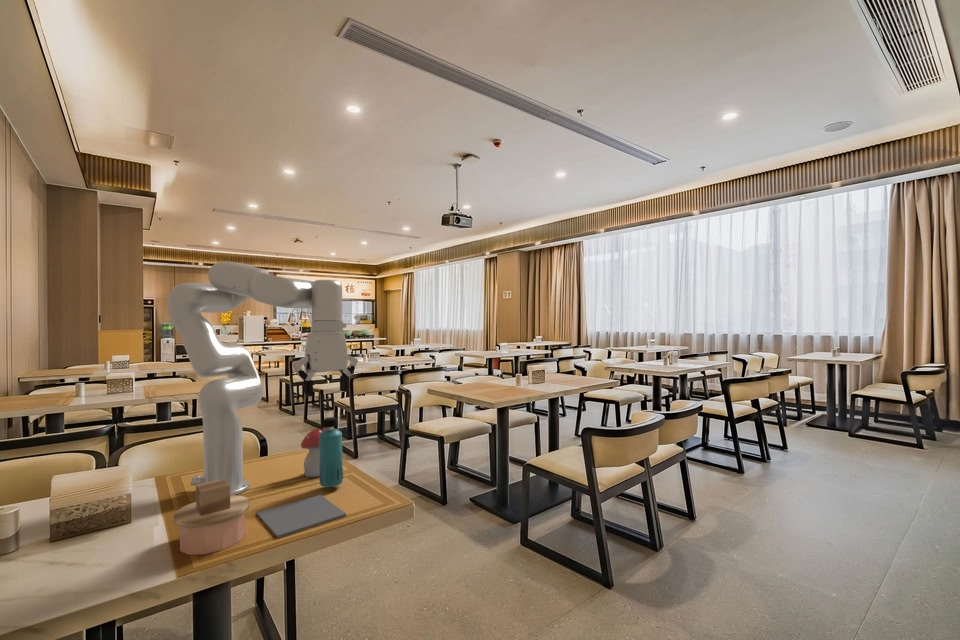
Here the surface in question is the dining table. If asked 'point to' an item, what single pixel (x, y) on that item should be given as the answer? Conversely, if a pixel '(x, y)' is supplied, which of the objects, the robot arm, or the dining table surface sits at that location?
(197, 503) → the lid
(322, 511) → the mat
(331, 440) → the beverage bottle
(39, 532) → the dining table surface
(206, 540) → the bowl
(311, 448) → the decorative ornament
